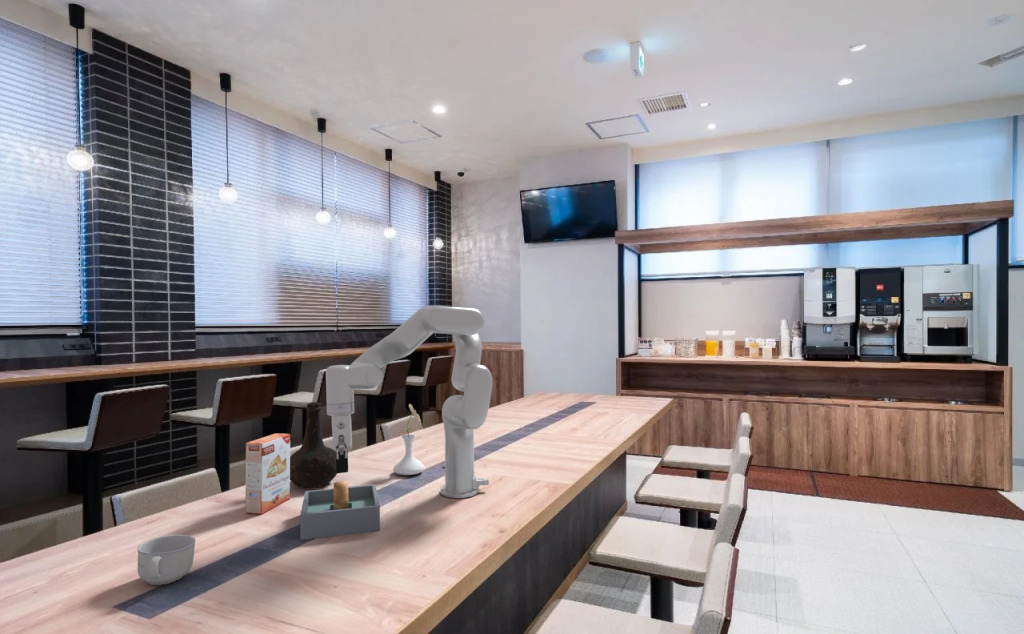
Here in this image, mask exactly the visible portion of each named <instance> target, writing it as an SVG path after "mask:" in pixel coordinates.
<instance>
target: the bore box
mask: <svg viewBox="0 0 1024 634" xmlns="http://www.w3.org/2000/svg"><path fill="white" fill-rule="evenodd" d="M378 495H379V494H378V490H377V485H376V484H367V485H357V486H356V485H354V486H348V509H339V510H334V487H333V488H326V489H325V488H323V489H315V490H314V489H313V490H305V491H304V495H303V501H302V506H301V510H300V513H299V515H300V517H299V519H300V520H299V521H300V522H299V523H300V527H299V528H300V529H299V530H300V535H299V536H300V539H299V540H300V541H305V540H304V539H306V540H313V539H312V538H314V539H319V538H318V537H322V538H328V537H327V536H330V537H337V536H346V535H353V534H361V533H362V534H363V533H370V532H379V531H381V506H380V500H379V496H378Z"/></svg>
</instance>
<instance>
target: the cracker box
mask: <svg viewBox="0 0 1024 634" xmlns="http://www.w3.org/2000/svg"><path fill="white" fill-rule="evenodd" d="M290 456H291V434H290V433H272V434H270V435H267V436H263V437H261V438H258V439H254V440H250V441H248V442H246V443H245V514H254V515H255V514H256V515H262V514H264V513H266V512H268V511H270V510H273V509H274V508H276V507H278V506H279V505H281V504H283V503H286V502H287V501H289V500H290V499H291V498H290V496H291V492H290V491H291V480H290Z"/></svg>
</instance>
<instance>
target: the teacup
mask: <svg viewBox="0 0 1024 634" xmlns="http://www.w3.org/2000/svg"><path fill="white" fill-rule="evenodd" d="M195 545H196V538H195V537H194V536H192V535H187V534H170V535H164V536H163V535H162V536H158V537H155V538H150V539H148V540H145V541H143V542H142V543H140V544H139V545H138V547H137V551H138V552H137V574H138V576H139V578H140V579H141V580H142V581H144V582H145V583H147V584H148V585H152V586H160V585H162V584H163V585H167V584H171V582H172V583H175V582H177V581H179V580H180V579H182V578H183V577H184V576H185V575H186V574H187V573H189V571H190V570H191V569H192V567H193V564H194V558H195V548H196V547H195ZM176 580H177V581H176ZM174 581H175V582H174Z"/></svg>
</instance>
